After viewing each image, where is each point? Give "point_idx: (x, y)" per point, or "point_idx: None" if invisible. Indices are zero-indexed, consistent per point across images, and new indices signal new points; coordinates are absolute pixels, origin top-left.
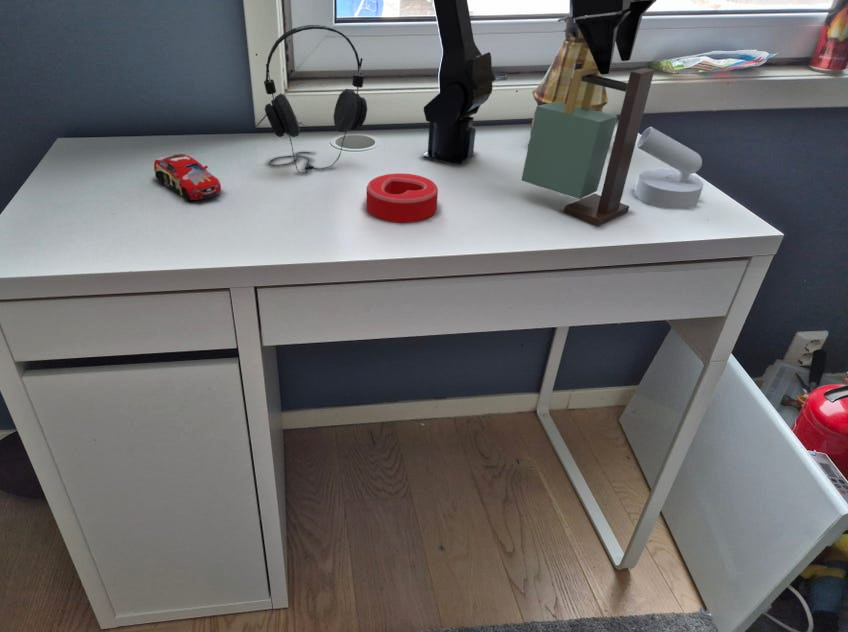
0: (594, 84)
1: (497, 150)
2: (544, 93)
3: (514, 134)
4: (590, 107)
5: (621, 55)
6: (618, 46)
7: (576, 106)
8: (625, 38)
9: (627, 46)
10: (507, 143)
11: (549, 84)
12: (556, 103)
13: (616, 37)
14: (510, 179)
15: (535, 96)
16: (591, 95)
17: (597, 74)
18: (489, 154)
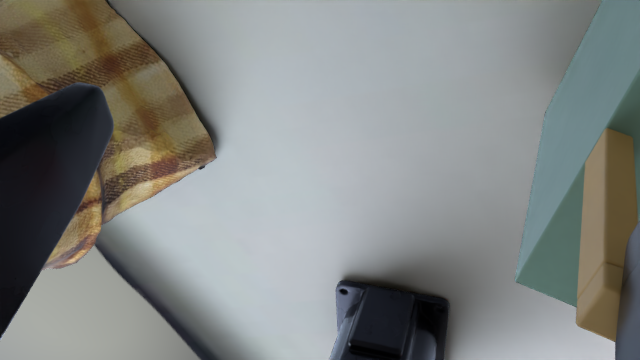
0: (631, 218)
1: (277, 230)
2: (76, 244)
3: (133, 207)
4: (30, 76)
5: (97, 155)
6: (66, 220)
7: (580, 193)
8: (5, 228)
9: (45, 168)
10: (209, 214)
11: (52, 256)
12: (572, 281)
13: (22, 283)
14: (491, 170)
15: (83, 254)
16: (633, 179)
17: (617, 258)
18: (319, 244)
